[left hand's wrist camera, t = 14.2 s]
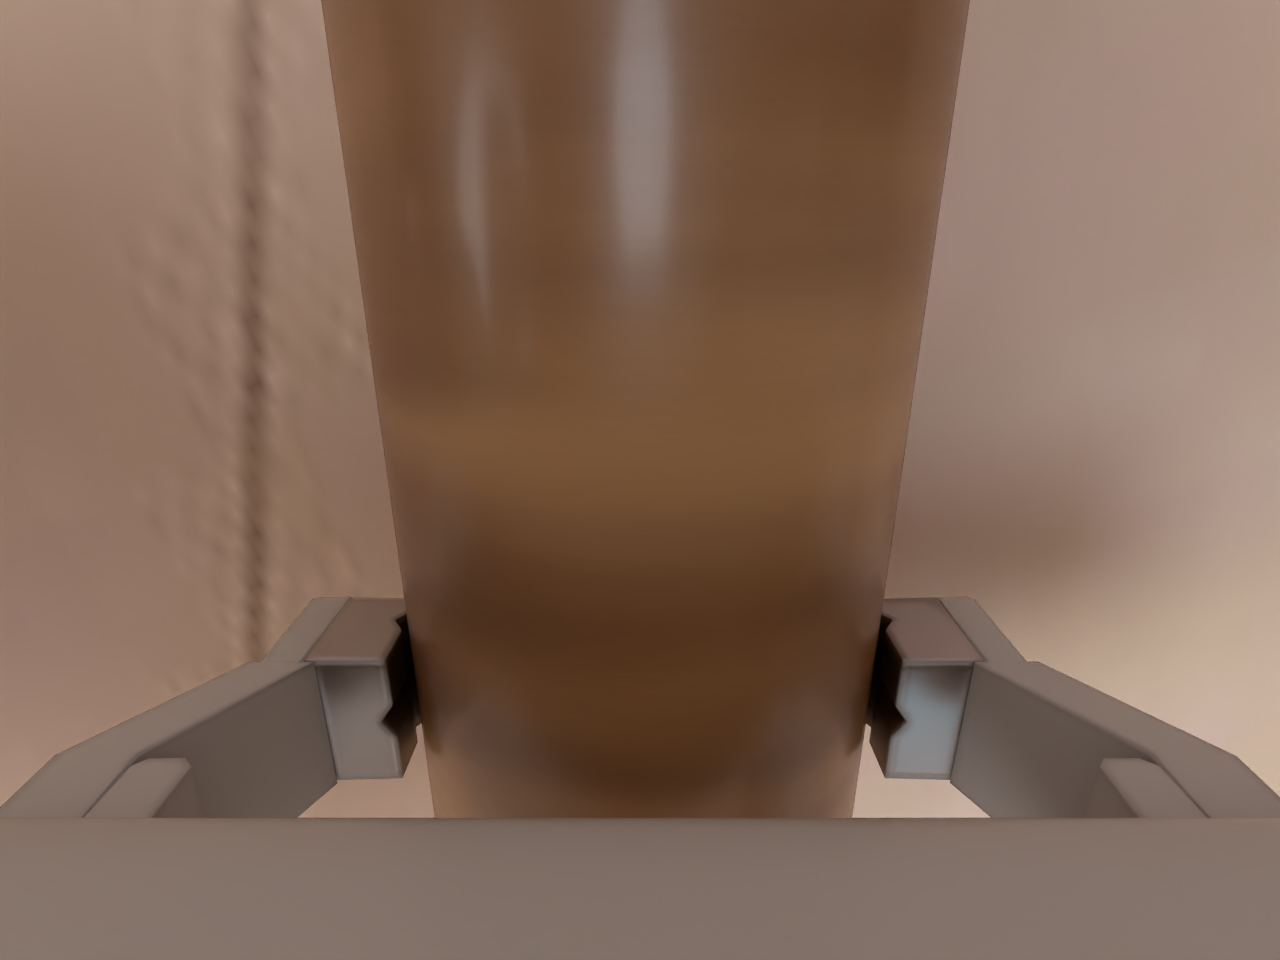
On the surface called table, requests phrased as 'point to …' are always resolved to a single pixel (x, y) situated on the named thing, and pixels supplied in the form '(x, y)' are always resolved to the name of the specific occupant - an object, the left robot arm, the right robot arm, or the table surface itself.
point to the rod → (644, 379)
